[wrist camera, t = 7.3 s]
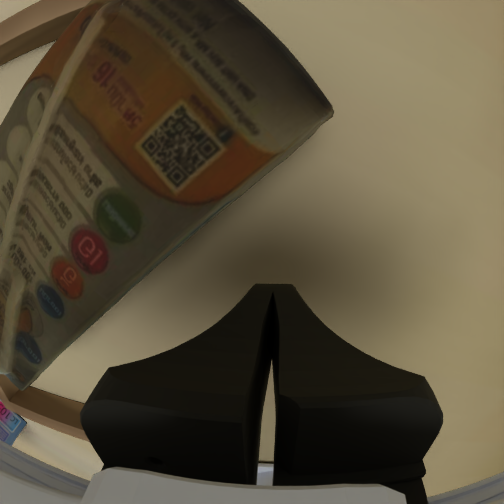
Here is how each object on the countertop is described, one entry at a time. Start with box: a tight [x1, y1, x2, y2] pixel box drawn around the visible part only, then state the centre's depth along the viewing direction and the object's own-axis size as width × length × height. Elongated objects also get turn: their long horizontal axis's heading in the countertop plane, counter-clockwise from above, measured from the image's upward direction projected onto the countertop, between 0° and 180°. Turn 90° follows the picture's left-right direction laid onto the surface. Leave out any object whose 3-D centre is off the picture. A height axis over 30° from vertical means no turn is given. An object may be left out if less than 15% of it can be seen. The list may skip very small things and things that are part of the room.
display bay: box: [0, 0, 91, 442], centre depth 14 cm, size 27×18×2 cm, turn 0°
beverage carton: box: [0, 0, 334, 391], centre depth 11 cm, size 8×19×7 cm, turn 130°
